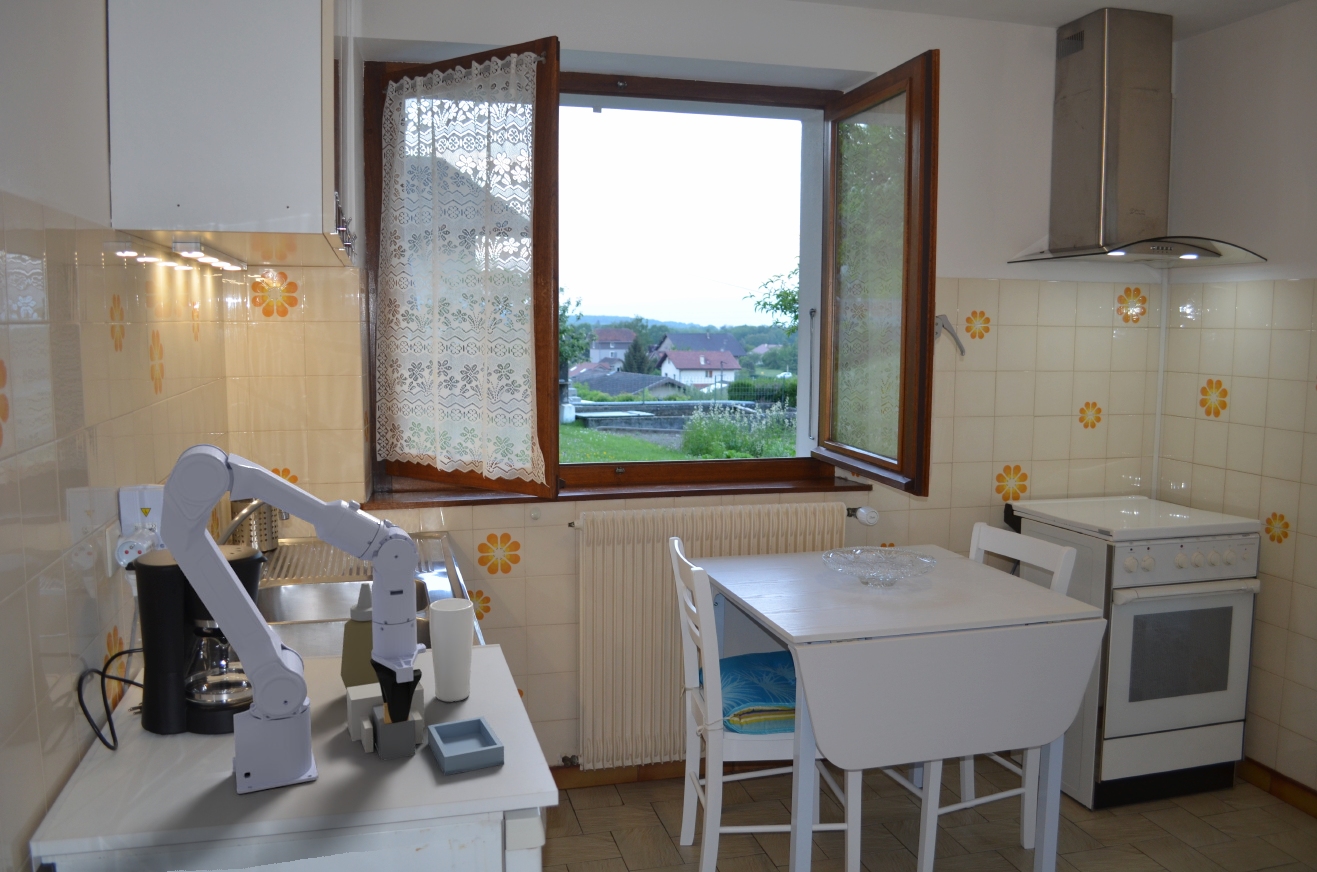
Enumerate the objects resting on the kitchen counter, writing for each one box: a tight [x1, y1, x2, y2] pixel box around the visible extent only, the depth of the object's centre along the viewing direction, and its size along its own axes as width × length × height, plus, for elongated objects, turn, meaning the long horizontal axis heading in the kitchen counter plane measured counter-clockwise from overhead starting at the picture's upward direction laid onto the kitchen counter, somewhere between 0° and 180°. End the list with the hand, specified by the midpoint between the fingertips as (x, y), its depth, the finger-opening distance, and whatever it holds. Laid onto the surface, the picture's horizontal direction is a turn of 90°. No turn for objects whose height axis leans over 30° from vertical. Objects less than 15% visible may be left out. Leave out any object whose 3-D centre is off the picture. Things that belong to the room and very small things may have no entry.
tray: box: [427, 715, 505, 776], centre depth 127 cm, size 8×10×2 cm
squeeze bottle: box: [340, 582, 379, 691], centre depth 146 cm, size 8×8×18 cm
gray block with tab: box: [372, 703, 416, 762], centre depth 129 cm, size 7×4×8 cm, turn 26°
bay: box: [346, 681, 425, 754], centre depth 133 cm, size 10×10×6 cm
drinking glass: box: [428, 597, 475, 703], centre depth 146 cm, size 7×7×15 cm
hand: (396, 714), depth 126 cm, fingers open, 4 cm apart
